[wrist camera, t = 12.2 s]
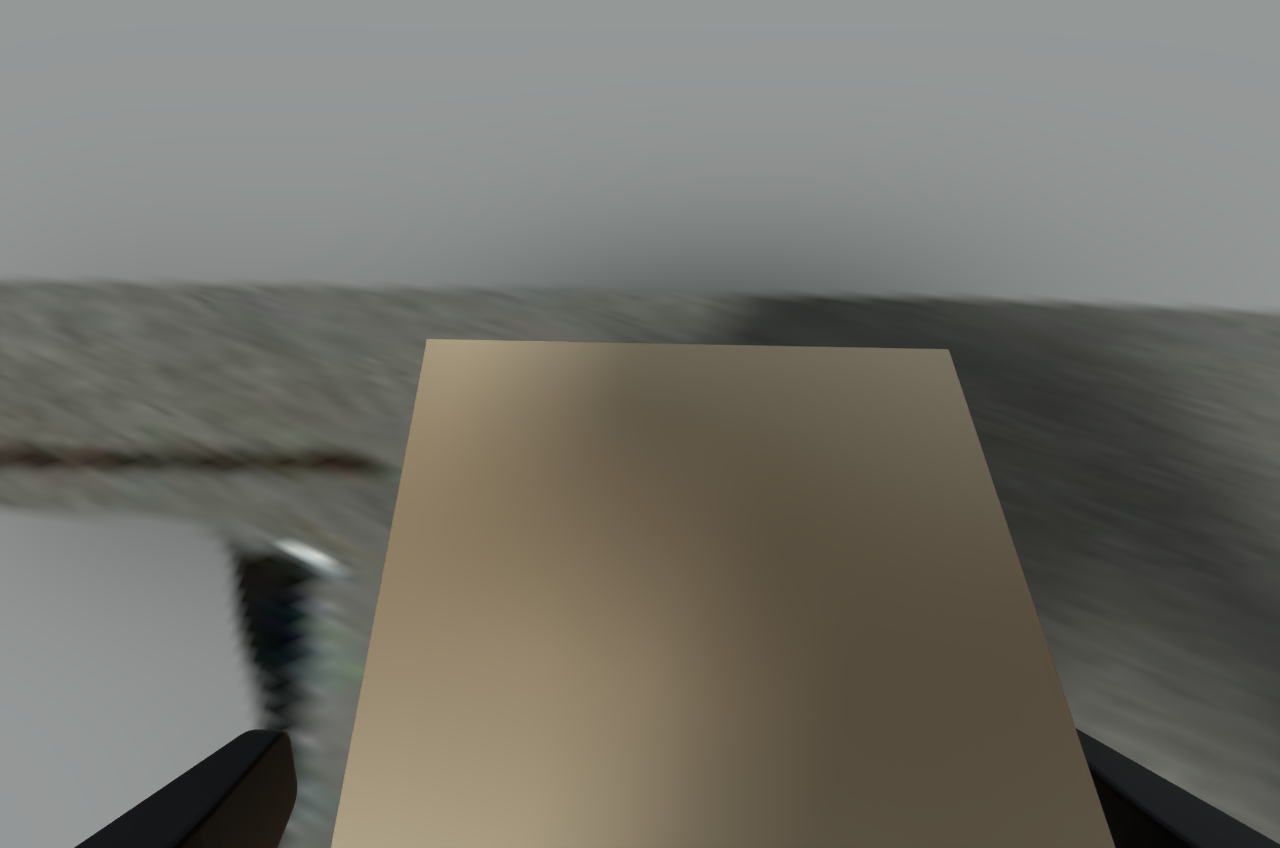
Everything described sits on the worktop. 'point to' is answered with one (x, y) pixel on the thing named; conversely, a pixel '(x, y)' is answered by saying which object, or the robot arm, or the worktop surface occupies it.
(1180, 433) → the worktop surface
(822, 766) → the birch peg
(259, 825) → the robot arm
